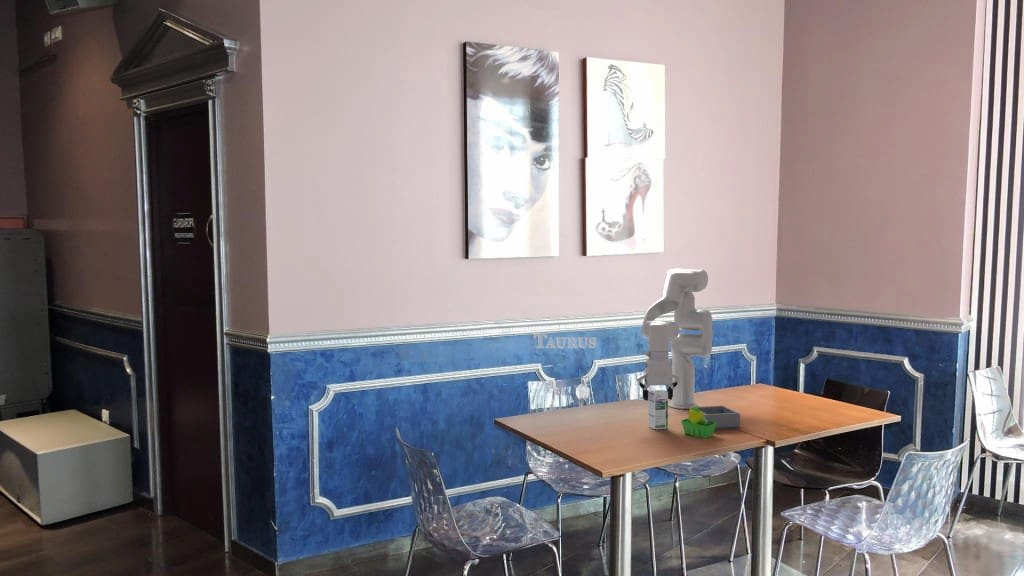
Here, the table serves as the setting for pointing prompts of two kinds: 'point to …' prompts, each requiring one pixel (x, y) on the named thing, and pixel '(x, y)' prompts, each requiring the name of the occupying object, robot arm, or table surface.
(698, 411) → the fruit basket
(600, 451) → the table surface
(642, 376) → the robot arm
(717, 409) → the bin
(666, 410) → the syrup box
